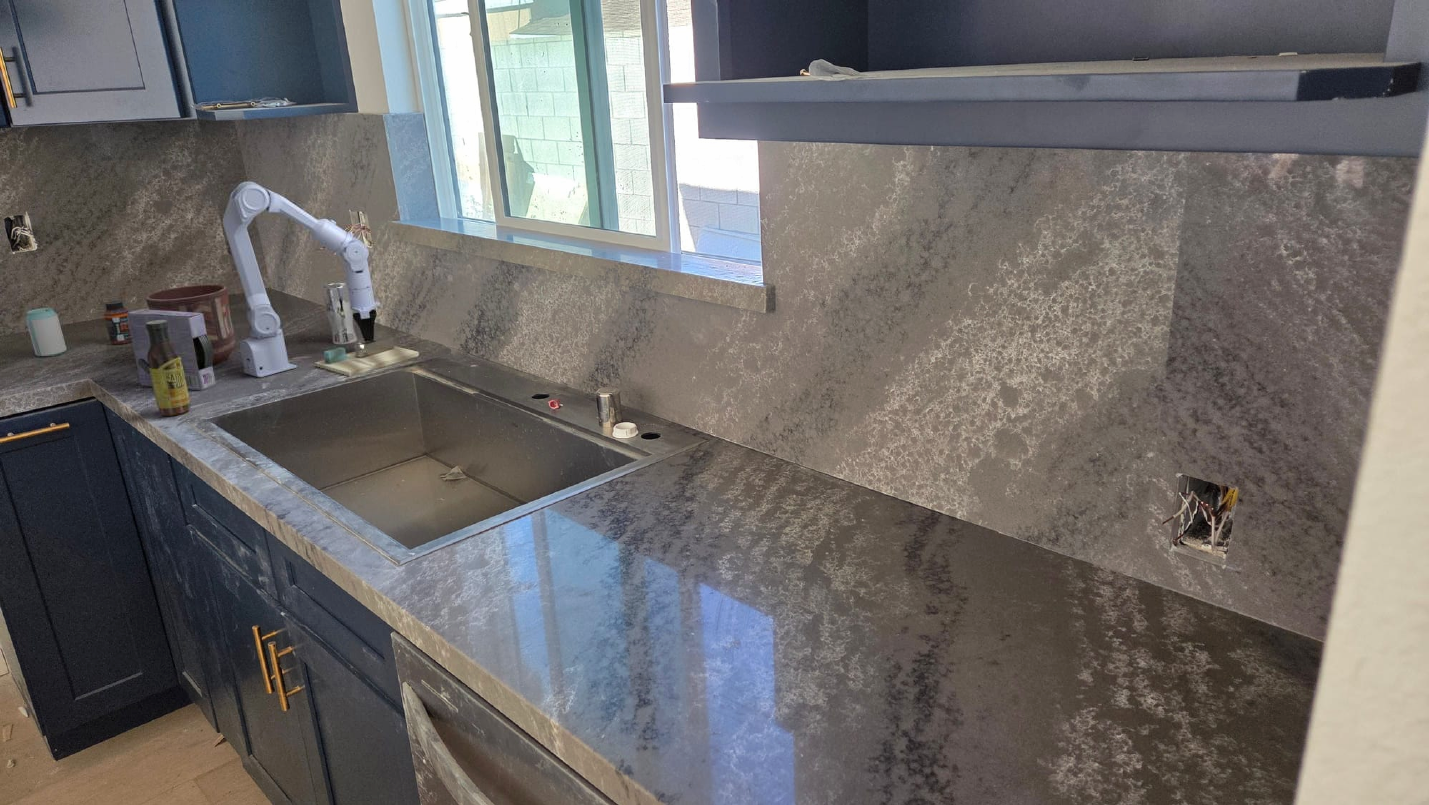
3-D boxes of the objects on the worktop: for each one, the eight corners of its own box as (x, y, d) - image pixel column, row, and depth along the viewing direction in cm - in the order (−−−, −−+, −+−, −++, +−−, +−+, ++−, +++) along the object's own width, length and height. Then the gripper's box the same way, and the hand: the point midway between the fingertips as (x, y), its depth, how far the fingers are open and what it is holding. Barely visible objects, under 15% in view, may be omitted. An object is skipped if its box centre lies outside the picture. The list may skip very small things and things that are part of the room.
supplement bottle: (127, 344, 272) (117, 304, 268) (106, 345, 272) (95, 305, 268) (140, 338, 277) (130, 298, 274) (119, 339, 278) (108, 299, 274)
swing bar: (360, 358, 243) (357, 344, 242) (354, 356, 244) (351, 343, 243) (394, 348, 250) (392, 335, 249) (388, 346, 251) (386, 333, 250)
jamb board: (349, 376, 233) (347, 360, 232) (315, 366, 242) (312, 351, 241) (418, 355, 246) (416, 340, 245) (384, 347, 256) (381, 332, 254)
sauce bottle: (178, 417, 211) (156, 326, 204) (152, 417, 212) (130, 326, 205) (199, 407, 217) (178, 318, 210) (174, 406, 218) (152, 317, 211)
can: (54, 349, 270) (42, 306, 266) (73, 351, 268) (61, 307, 264) (30, 357, 264) (17, 313, 260) (49, 358, 262) (36, 314, 258)
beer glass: (341, 346, 259) (330, 289, 254) (325, 342, 263) (315, 286, 258) (364, 339, 264) (354, 283, 259) (349, 336, 268) (339, 281, 263)
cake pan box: (222, 384, 232) (205, 310, 226) (205, 391, 227) (188, 316, 222) (157, 380, 238) (139, 308, 232) (140, 387, 233) (121, 313, 227)
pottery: (202, 374, 241) (186, 300, 235) (146, 370, 246) (129, 298, 241) (256, 354, 257) (242, 284, 251) (202, 350, 262) (187, 283, 256)
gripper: (378, 290, 241) (387, 345, 246) (375, 279, 254) (384, 331, 259) (347, 294, 239) (357, 349, 243) (346, 283, 252) (355, 335, 256)
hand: (369, 340), depth 251 cm, fingers closed
